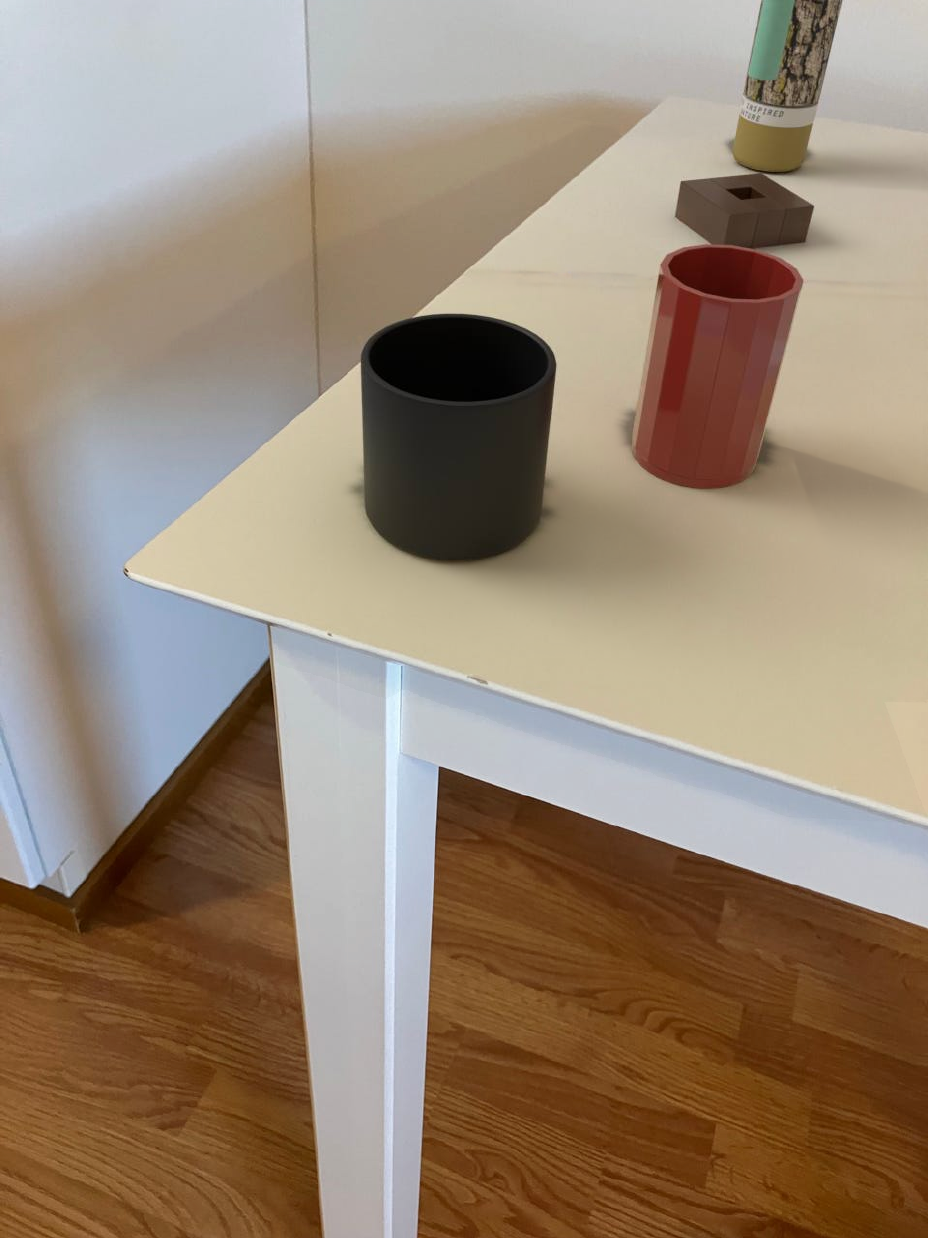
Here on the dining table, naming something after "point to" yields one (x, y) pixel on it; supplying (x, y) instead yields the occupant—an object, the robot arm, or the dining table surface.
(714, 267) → the cup
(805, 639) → the dining table surface
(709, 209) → the holder
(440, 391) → the mug
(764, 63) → the straw
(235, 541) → the dining table surface
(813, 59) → the paper tube
